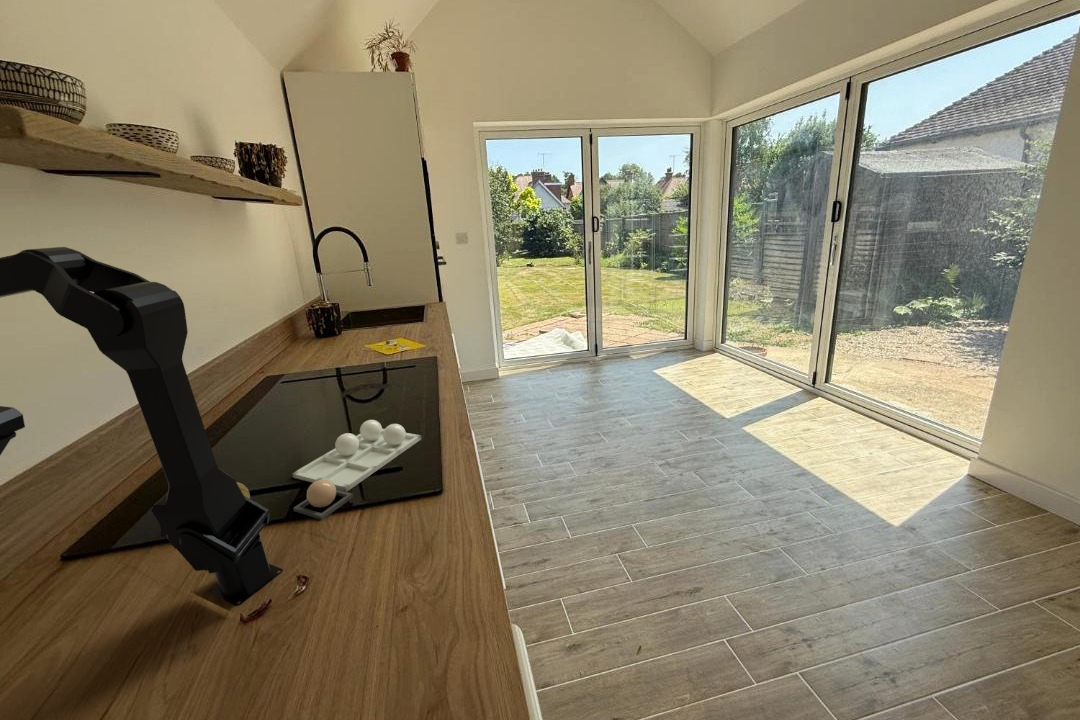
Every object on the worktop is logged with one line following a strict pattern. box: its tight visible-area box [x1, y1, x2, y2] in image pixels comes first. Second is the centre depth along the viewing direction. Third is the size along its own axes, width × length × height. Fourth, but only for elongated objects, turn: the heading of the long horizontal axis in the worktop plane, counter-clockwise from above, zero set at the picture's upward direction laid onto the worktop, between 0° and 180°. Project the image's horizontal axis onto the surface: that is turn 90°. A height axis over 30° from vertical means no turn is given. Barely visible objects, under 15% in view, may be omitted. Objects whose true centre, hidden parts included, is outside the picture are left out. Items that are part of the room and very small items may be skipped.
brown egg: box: [306, 480, 337, 508], centre depth 76 cm, size 4×4×4 cm
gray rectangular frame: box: [293, 489, 354, 521], centre depth 76 cm, size 6×6×1 cm
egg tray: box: [291, 428, 422, 492], centre depth 91 cm, size 14×20×2 cm
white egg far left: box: [383, 423, 407, 446], centre depth 94 cm, size 4×4×4 cm
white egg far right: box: [359, 419, 383, 441], centre depth 97 cm, size 4×4×4 cm
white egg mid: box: [334, 432, 359, 456], centre depth 91 cm, size 4×4×4 cm
